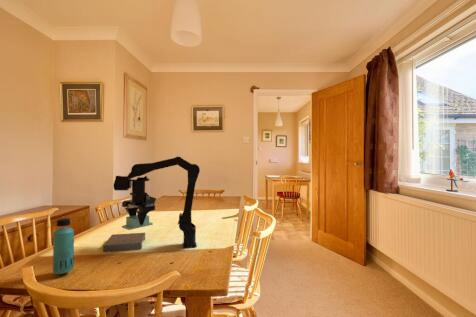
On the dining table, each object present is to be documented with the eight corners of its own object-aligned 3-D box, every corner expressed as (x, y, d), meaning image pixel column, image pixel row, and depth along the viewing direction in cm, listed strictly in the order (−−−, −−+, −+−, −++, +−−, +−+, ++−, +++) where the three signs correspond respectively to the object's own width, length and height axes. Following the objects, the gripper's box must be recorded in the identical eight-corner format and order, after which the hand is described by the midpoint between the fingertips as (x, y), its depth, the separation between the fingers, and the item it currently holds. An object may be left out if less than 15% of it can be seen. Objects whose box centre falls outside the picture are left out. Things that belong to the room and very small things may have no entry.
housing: (129, 230, 111) (129, 219, 111) (121, 227, 114) (122, 217, 114) (152, 224, 120) (152, 214, 120) (145, 222, 124) (145, 213, 124)
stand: (141, 249, 116) (141, 242, 116) (103, 252, 112) (103, 245, 112) (145, 238, 131) (145, 232, 131) (112, 240, 128) (112, 234, 128)
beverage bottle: (57, 280, 86) (57, 222, 86) (48, 275, 90) (49, 219, 90) (77, 272, 92) (78, 218, 92) (68, 268, 95) (69, 216, 95)
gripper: (165, 190, 118) (164, 224, 118) (142, 187, 129) (142, 217, 129) (144, 193, 109) (143, 229, 109) (121, 189, 120) (121, 221, 120)
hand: (137, 223), depth 117 cm, fingers closed on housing, 6 cm apart
